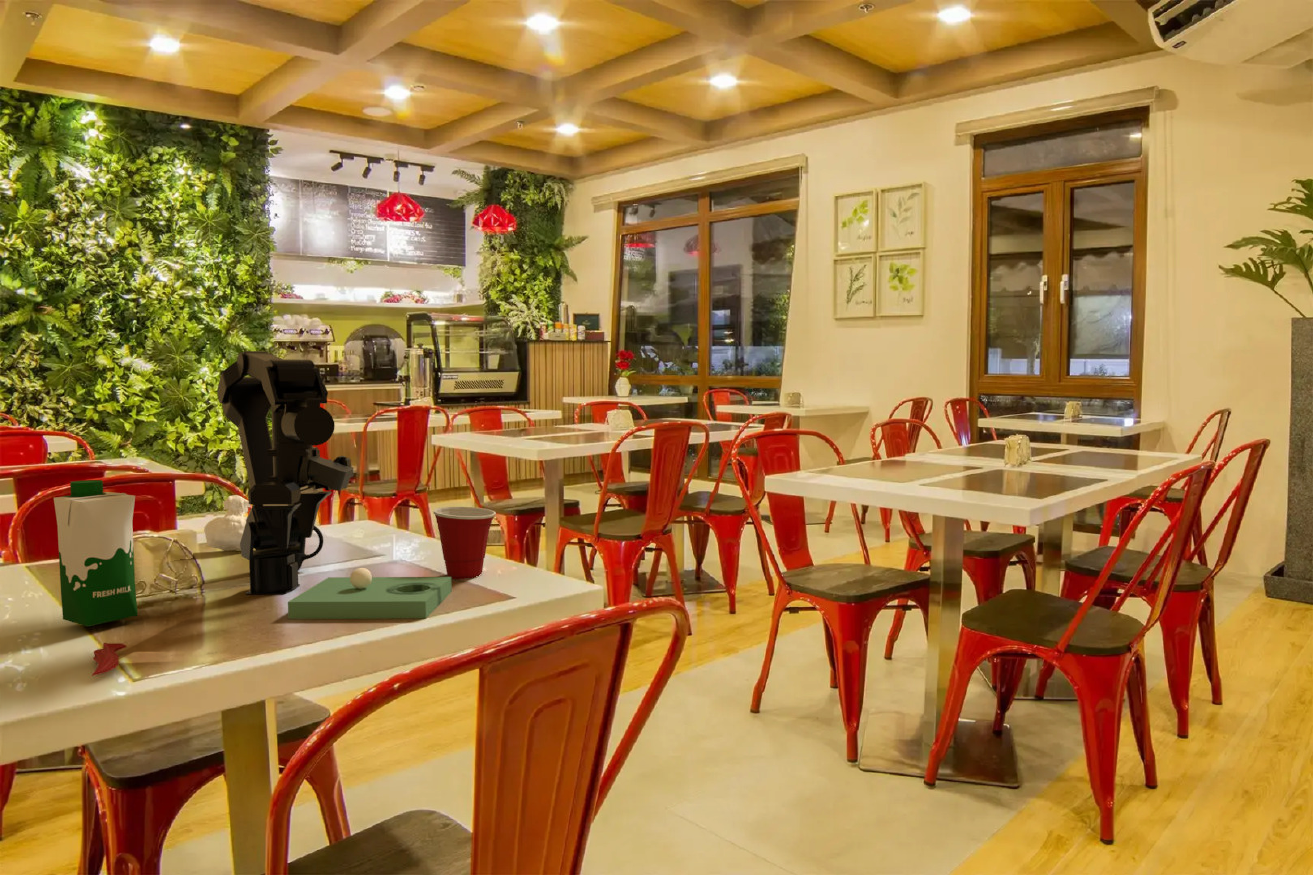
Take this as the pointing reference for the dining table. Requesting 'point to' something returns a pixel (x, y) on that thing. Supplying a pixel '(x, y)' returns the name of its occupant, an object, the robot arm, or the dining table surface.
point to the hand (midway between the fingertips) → (296, 543)
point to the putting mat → (371, 598)
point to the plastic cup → (463, 539)
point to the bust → (228, 525)
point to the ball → (361, 578)
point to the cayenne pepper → (107, 657)
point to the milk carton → (96, 554)
